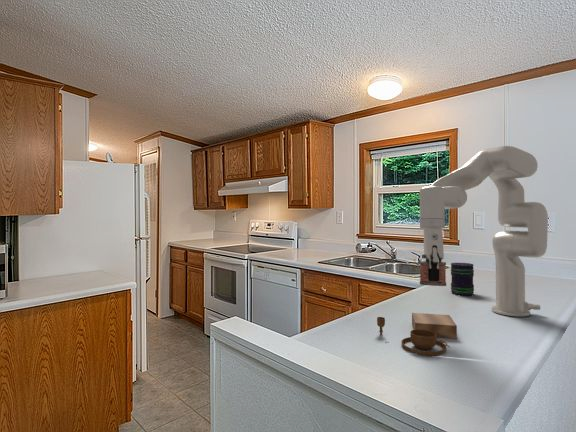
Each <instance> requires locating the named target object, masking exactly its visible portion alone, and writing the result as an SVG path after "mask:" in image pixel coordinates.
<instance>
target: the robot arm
mask: <svg viewBox="0 0 576 432" xmlns="http://www.w3.org/2000/svg"><path fill="white" fill-rule="evenodd" d="M538 165H539V164H538V161H537V158H536V157H535V156H534V154H532V153H530V152H528V151H525V150H523V149H520V148H518V147H516V146H511V145H503V146H497V147H492V148H486V149H483V150H480V151H478V152H477V153H476V154H474V156H473V157H472V158H470V159H469V160H468V161H467V162H466V163H464V165H462V166H461V167H460V168H458V169H456V170H454V171H452V172H450V173H447V174H446V175H443V176H442V177H440V178H439V179H436V181H435V180H434V182H433V183H432V184H430V185H429V186H427V185H426V186H422V187H421V188H420V189H419V229H422V230H423V252H424V254H425V255H426V258H428V261H429V269H428V280H429V281H437V282H438V281H439V259H438V257H440V259H441V261H443V260H444V258H445V256H444V255H445V254H444V237H443V230H444V229H445V224H446V221H445V217H446V216H445V215H446V214H445V213H446V212H445V210H447V209H448V210H453V209H458V208H461V207H463V206H464V205H465V204H466V202H467V201H468V194H467V192H466V191H468V190H470V189H473V188H476V187H478V186H479V185H481V184H482V183H483V182H484V181H485V180H486V179H487V178H488V177H489V179H490V180H491V181H492V182H493V183H494V185H495V187H496V189H497V192H498V202H497V203H498V205H497V208H498V209H497V221H498V224H500V225H501V226H502V227H505V228H506V227H507V228H527V230H526V231H523V230H501V231H498V232H496V233H495V234H494V235H493V237H492V241H491V242H492V248H493V251H494V258H495V259H494V260H495V305H492V306H491V311H492V312H494V313H495V314H499V315H503V316H509V317H518V318H519V317H520V318H521V317H529V316H530V315H531V310H534V311H540V310H541V305H540V304H536V303H535V304H534V303H530V302H529V303H528V302H527V301H526V268H525V265H524V262H523V261H522V259H521V258H520V257H522V258H523V257H524V258H542V257H543V256H544V255H545V254H546V251H547V249H548V230H549V229H548V227H549V224H548V223H549V217H548V216H549V215H548V211H547V209H546V207H545V205H544V204H543V203H541V202H536V201H527V202H525V188H524V186H523V185H522V184H521V182H520V181H518V179H523V178H529V177H532V176H533V175H534V174H535V173H536V172H537V171H538V168H539V167H538ZM430 255H431V256H430ZM438 255H439V256H438ZM426 258H425V259H426ZM431 258H433V259H431ZM431 261H432V262H431Z"/></svg>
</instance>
